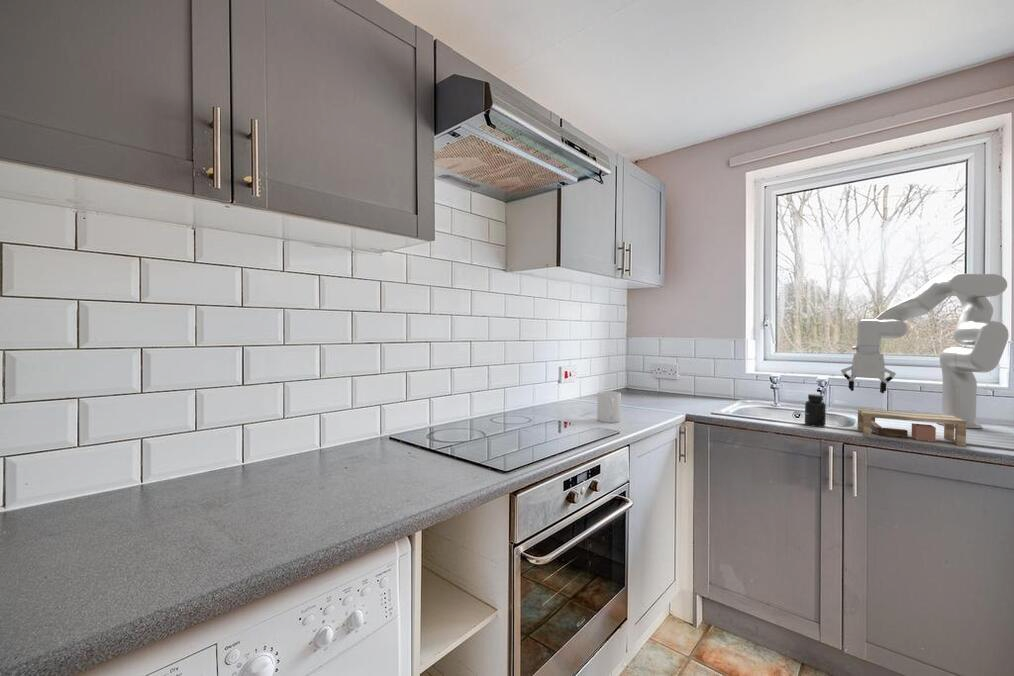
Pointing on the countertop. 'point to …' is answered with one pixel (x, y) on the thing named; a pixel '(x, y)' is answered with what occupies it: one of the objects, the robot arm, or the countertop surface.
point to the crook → (886, 429)
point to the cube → (923, 432)
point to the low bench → (948, 420)
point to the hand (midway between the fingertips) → (866, 391)
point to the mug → (609, 406)
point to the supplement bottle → (815, 410)
